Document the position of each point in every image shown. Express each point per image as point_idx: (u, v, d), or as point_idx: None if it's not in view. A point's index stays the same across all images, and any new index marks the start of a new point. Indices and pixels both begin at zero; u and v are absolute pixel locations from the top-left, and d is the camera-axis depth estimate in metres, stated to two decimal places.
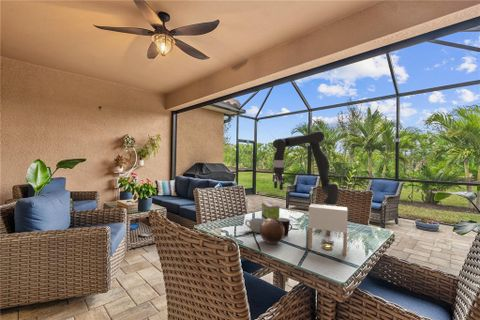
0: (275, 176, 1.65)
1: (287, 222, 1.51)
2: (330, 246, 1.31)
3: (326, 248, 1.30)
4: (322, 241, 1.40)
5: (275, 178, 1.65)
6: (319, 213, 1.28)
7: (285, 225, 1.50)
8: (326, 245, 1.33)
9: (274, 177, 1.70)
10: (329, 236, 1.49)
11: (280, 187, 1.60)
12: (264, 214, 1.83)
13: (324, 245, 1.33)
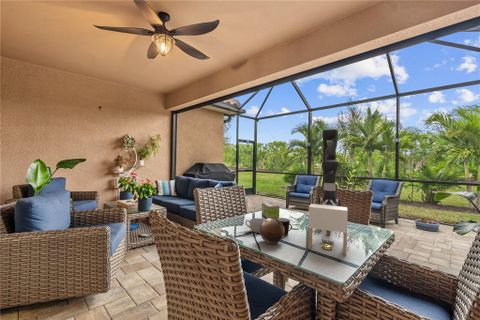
0: None
1: (287, 222, 1.51)
2: (330, 246, 1.31)
3: (326, 248, 1.30)
4: (322, 241, 1.40)
5: None
6: (319, 213, 1.28)
7: (285, 225, 1.50)
8: (326, 245, 1.33)
9: (338, 202, 1.53)
10: (329, 236, 1.49)
11: None
12: (264, 214, 1.83)
13: (324, 245, 1.33)
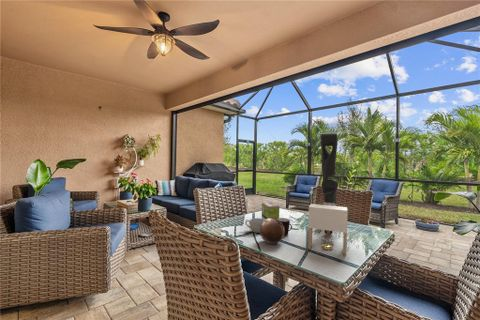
0: None
1: (287, 222, 1.51)
2: (330, 246, 1.31)
3: (326, 248, 1.30)
4: (322, 241, 1.40)
5: None
6: (319, 213, 1.28)
7: (285, 225, 1.50)
8: (326, 245, 1.33)
9: None
10: (329, 236, 1.49)
11: None
12: (264, 214, 1.83)
13: (324, 245, 1.32)
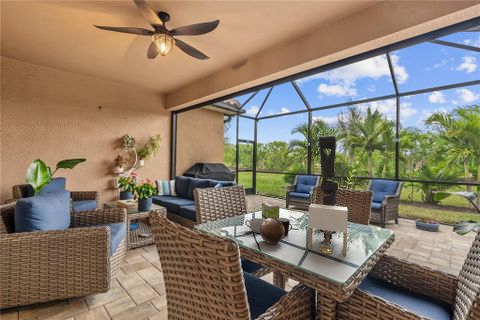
0: None
1: (287, 222, 1.51)
2: (330, 250, 1.25)
3: (325, 252, 1.23)
4: (321, 247, 1.30)
5: None
6: (319, 213, 1.28)
7: (285, 225, 1.50)
8: (326, 249, 1.26)
9: None
10: (328, 241, 1.39)
11: None
12: (264, 214, 1.83)
13: (323, 249, 1.26)
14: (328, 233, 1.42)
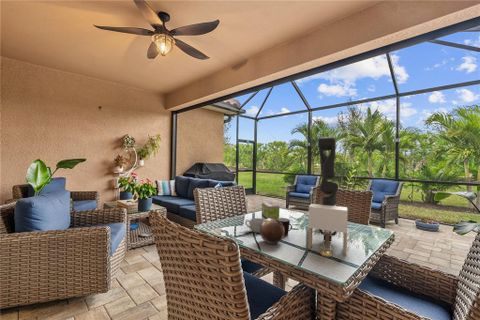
0: None
1: (287, 222, 1.51)
2: (329, 253, 1.22)
3: (325, 255, 1.21)
4: (320, 250, 1.27)
5: None
6: (319, 213, 1.28)
7: (285, 225, 1.50)
8: (325, 251, 1.23)
9: None
10: (328, 243, 1.36)
11: None
12: (264, 214, 1.83)
13: (323, 251, 1.23)
14: (328, 235, 1.39)
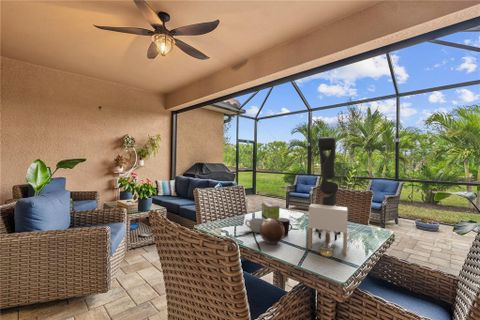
0: None
1: (287, 222, 1.51)
2: (329, 253, 1.22)
3: (325, 255, 1.21)
4: (320, 249, 1.27)
5: None
6: (319, 213, 1.28)
7: (285, 225, 1.50)
8: (325, 251, 1.23)
9: None
10: (328, 243, 1.36)
11: None
12: (264, 214, 1.83)
13: (323, 251, 1.23)
14: (328, 235, 1.39)
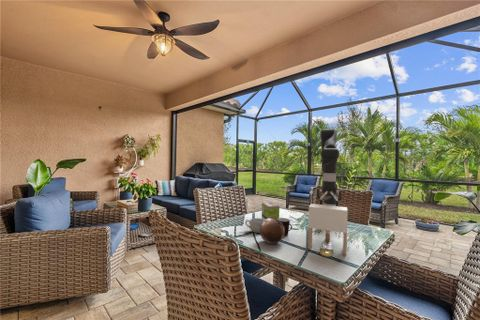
0: None
1: (287, 222, 1.51)
2: (329, 253, 1.22)
3: (325, 255, 1.21)
4: (320, 249, 1.27)
5: None
6: (319, 213, 1.28)
7: (285, 225, 1.50)
8: (325, 251, 1.23)
9: (339, 194, 1.41)
10: (328, 243, 1.36)
11: None
12: (264, 214, 1.83)
13: (323, 251, 1.23)
14: (328, 235, 1.39)
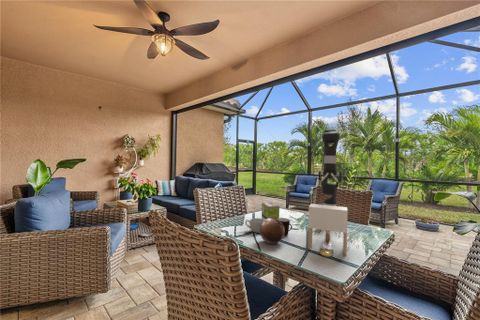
0: None
1: (287, 222, 1.51)
2: (329, 253, 1.22)
3: (325, 255, 1.21)
4: (320, 249, 1.27)
5: None
6: (319, 213, 1.28)
7: (285, 225, 1.50)
8: (325, 251, 1.23)
9: (339, 175, 1.48)
10: (328, 243, 1.36)
11: None
12: (264, 214, 1.83)
13: (323, 251, 1.23)
14: (328, 235, 1.39)
